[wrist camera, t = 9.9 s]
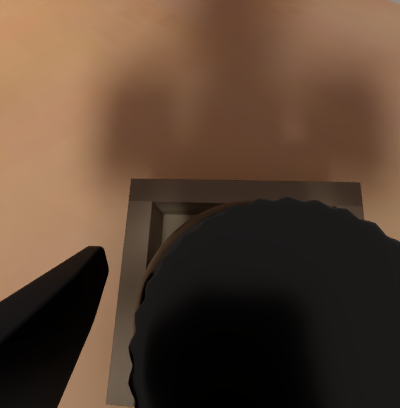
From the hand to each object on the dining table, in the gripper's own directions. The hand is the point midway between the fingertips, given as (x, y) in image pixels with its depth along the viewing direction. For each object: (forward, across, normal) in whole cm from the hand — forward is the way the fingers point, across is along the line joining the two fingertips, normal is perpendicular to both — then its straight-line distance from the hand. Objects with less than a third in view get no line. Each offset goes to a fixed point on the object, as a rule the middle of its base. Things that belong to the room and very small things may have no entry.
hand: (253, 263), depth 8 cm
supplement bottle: (+5, 0, +7) cm, 8 cm away
